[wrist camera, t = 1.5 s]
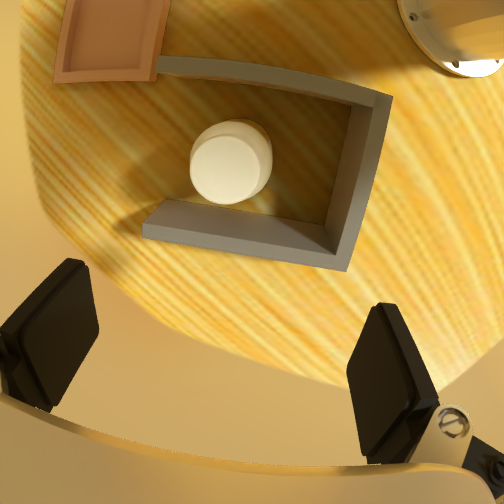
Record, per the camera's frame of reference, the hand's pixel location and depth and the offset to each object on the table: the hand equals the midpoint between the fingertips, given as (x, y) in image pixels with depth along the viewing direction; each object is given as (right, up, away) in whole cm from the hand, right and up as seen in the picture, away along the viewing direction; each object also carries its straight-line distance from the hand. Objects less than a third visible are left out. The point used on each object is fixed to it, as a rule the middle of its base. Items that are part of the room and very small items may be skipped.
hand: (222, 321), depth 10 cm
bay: (+2, +11, +16) cm, 19 cm away
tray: (-11, +23, +11) cm, 28 cm away
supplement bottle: (0, +11, +16) cm, 20 cm away
